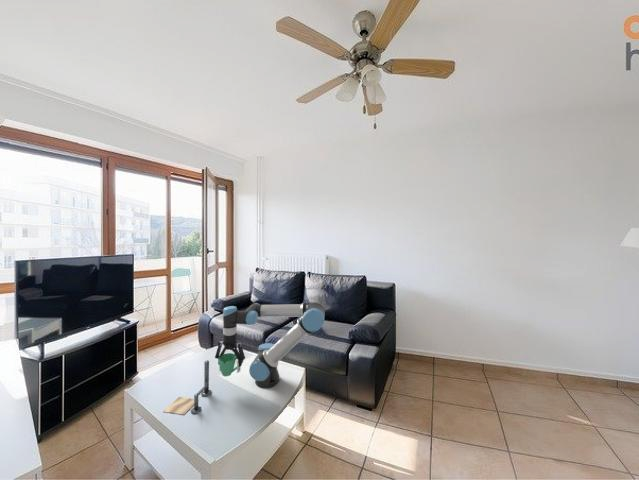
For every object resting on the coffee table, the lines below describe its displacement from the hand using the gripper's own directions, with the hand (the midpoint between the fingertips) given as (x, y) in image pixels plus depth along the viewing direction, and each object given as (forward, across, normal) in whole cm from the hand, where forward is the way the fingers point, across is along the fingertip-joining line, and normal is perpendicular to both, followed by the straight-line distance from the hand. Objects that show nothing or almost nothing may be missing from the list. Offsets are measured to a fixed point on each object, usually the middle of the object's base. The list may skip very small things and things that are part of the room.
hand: (229, 370), depth 152 cm
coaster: (+13, +19, +16) cm, 28 cm away
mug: (+1, -1, 0) cm, 2 cm away
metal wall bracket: (+13, +10, +11) cm, 20 cm away
